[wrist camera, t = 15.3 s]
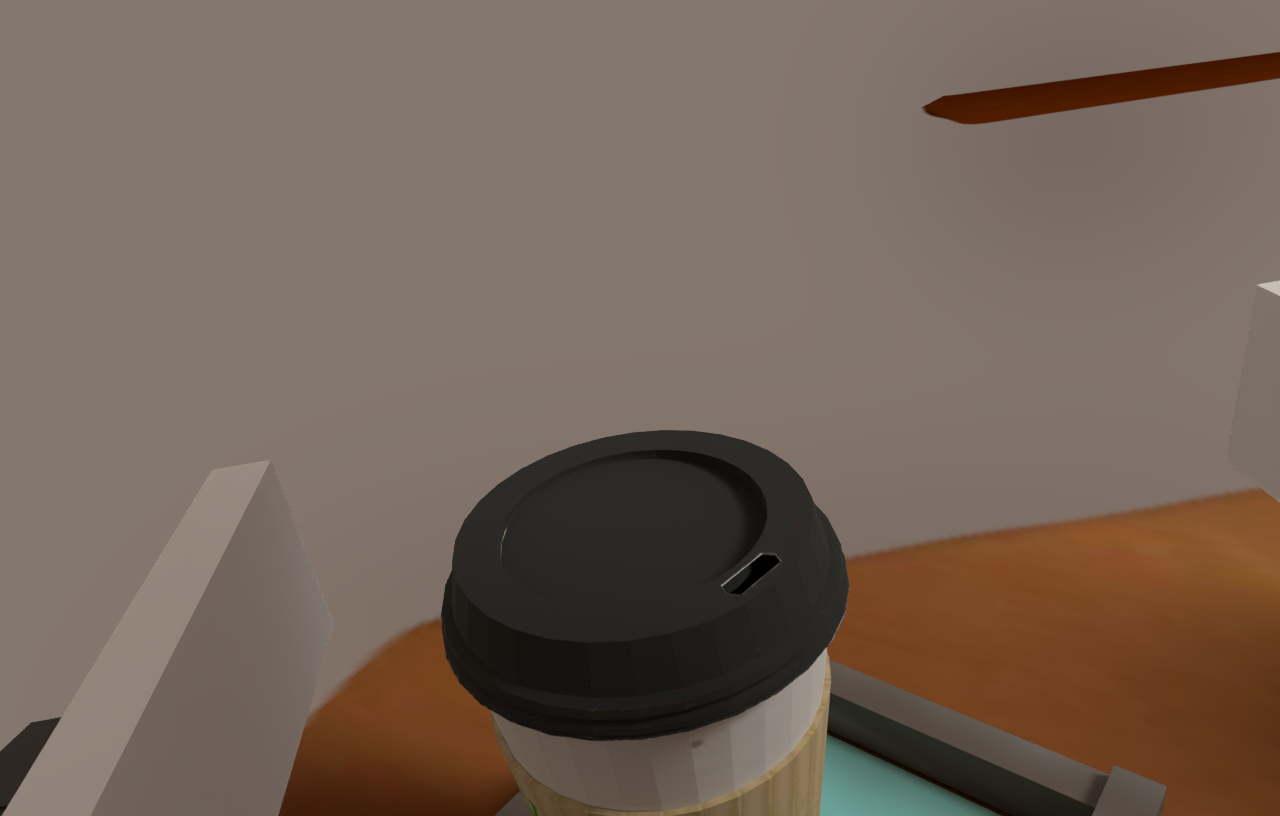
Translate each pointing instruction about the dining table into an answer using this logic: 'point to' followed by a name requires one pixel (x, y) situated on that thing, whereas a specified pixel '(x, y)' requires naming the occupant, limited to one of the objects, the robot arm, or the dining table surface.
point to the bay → (948, 764)
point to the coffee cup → (652, 627)
